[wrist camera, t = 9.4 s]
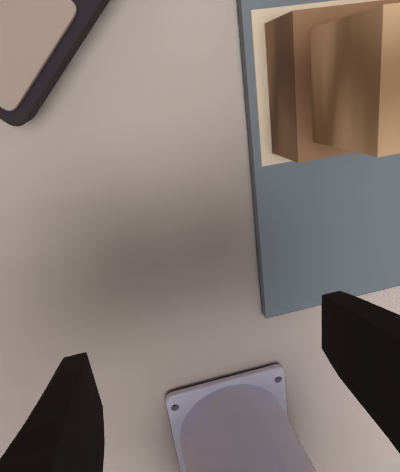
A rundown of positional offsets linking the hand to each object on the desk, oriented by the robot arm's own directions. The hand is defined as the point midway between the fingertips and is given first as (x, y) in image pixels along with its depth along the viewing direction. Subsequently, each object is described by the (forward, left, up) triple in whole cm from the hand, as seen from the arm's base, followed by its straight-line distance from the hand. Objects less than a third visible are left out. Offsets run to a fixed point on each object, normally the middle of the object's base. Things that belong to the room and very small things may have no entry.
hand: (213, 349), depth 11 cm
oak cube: (+7, -9, -7) cm, 13 cm away
